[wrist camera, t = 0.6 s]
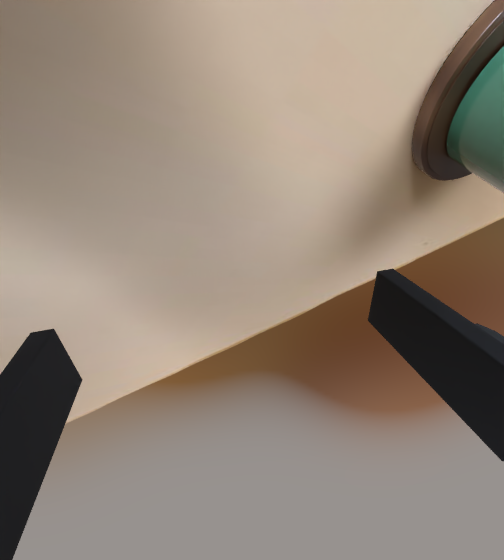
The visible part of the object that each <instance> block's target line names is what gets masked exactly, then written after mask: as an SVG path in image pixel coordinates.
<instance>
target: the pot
mask: <svg viewBox="0 0 504 560" xmlns="http://www.w3.org/2000/svg"><path fill="white" fill-rule="evenodd" d="M447 152H448V154H449V156H450V158H451V159H452V160H453V161H455V162H456V163H458V164H459V165H461V166H462V167H464V168H465V169H467V170H468V171H470V172H471V173H473V174H475V175H476V176H478V177H479V178H481V179H482V180H484V181H485V182H487V183H488V184H490V185H491V186H493V187H494V188H496V189H497V190H499V191H501V192H502V193H504V46H503V47H502V48H501V49H500V50H499V51H498V52H497V54H496V55H495V56H494V57H493V58H492V59H491V60H490V61H489V63H488V64H487V65H486V66H485V68H484V69H483V70H482V71H481V73H480V74H479V75H478V77H477V78H476V80H475V81H474V82H473V84H472V85H471V87H470V88H469V90H468V91H467V93H466V94H465V96H464V98H463V100H462V101H461V103H460V105H459V107H458V109H457V111H456V113H455V115H454V117H453V120H452V123H451V125H450V128H449V132H448V137H447Z"/></svg>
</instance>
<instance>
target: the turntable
mask: <svg viewBox="0 0 504 560" xmlns="http://www.w3.org/2000/svg"><path fill="white" fill-rule="evenodd" d="M503 46H504V0H495V1H494V2H493V3H492V4H491V5H490V6H489V7H488V8H487V9H486V10H485V11H484V12H483V14H482V15H481V16H480V17H479V18H478V19H477V20H476V21H475V23H474V24H473V25H472V26H471V27H470V28H469V30H468V31H467V32H466V34H465V35H464V36H463V37H462V39H461V40H460V41H459V43H458V44H457V45H456V47H455V48H454V50H453V51H452V52H451V54H450V55H449V57H448V58H447V60H446V61H445V63H444V64H443V66H442V68H441V69H440V71H439V73H438V74H437V76H436V78H435V79H434V81H433V83H432V85H431V87H430V89H429V91H428V93H427V95H426V97H425V99H424V102H423V104H422V106H421V109H420V112H419V115H418V117H417V120H416V124H415V128H414V132H413V140H412V153H413V158H414V161H415V163H416V165H417V166H418V167H419V169H420V170H422V171H423V172H424V173H426V174H427V175H428V176H430V177H431V178H433V179H437V180H453V179H458V178H461V177H464V176H467V175H469V174H472V173H471V172H470V171H468V170H467V169H465V168H464V167H462V166H461V165H459V164H458V163H456V162H455V161H453V160H452V159H451V158H450V156H449V154H448V152H447V137H448V132H449V128H450V125H451V123H452V120H453V117H454V115H455V113H456V111H457V109H458V107H459V105H460V103H461V101H462V100H463V98H464V96H465V94H466V93H467V91H468V90H469V88H470V87H471V85H472V84H473V82H474V81H475V80H476V78H477V77H478V75H479V74H480V73H481V71H482V70H483V69H484V68H485V66H486V65H487V64H488V63H489V61H490V60H491V59H492V58H493V57H494V56H495V55H496V54H497V52H498V51H499V50H500V49H501V48H502V47H503Z"/></svg>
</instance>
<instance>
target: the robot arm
mask: <svg viewBox="0 0 504 560" xmlns="http://www.w3.org/2000/svg"><path fill="white" fill-rule="evenodd" d="M368 321H369V322H370V323H371V324H372V325H373V326H374V327H375V328H376V329H377V331H378V332H379V333H380V334H381V335H382V336H383V337H384V338H385V339H386V340H387V341H388V342H389V343H390V344H391V345H392V346H393V347H394V348H395V349H396V351H397V352H398V353H399V354H400V355H401V356H402V357H403V358H404V359H405V360H406V361H407V362H408V363H409V364H410V365H411V366H412V367H413V368H414V369H415V370H416V371H417V372H418V374H419V375H420V376H421V377H422V378H423V379H424V380H425V381H426V382H427V383H428V384H429V385H430V386H431V387H432V388H433V389H434V390H435V391H436V392H437V393H438V395H440V396H441V398H442V399H443V400H444V401H445V402H446V403H447V404H448V405H449V406H450V407H451V408H452V409H453V410H454V411H455V412H456V413H457V414H458V415H459V416H460V417H461V419H462V420H463V421H464V422H465V423H466V424H467V425H468V426H469V427H470V428H471V429H472V430H473V431H474V432H475V433H476V434H477V435H478V436H479V437H480V439H482V441H483V442H484V443H485V444H486V445H487V446H488V447H489V448H490V449H491V450H492V451H493V452H494V453H495V454H496V455H497V456H498V457H499V458H500V459H501V461H504V337H503V336H502V335H500V334H499V333H497V332H496V331H494V330H491V329H489V328H487V327H484V326H482V325H479V324H473V323H472V322H470V321H469V320H467V319H466V318H465V317H463V316H462V315H460V314H459V313H457V312H456V311H454V310H453V309H451V308H450V307H448V306H447V305H445V304H444V303H442V302H441V301H440V300H438V299H437V298H435V297H434V296H432V295H431V294H429V293H428V292H426V291H425V290H423V289H422V288H420V287H419V286H417V285H416V284H415V283H413V282H412V281H410V280H408V279H407V278H406V277H404V276H403V275H401V274H400V273H398V272H397V271H395V270H394V269H389V270H383V271H377V276H376V281H375V287H374V291H373V297H372V302H371V307H370V312H369V318H368ZM81 382H82V378H81V377H80V375H79V373H78V371H77V369H76V368H75V366H74V364H73V362H72V360H71V359H70V357H69V355H68V353H67V351H66V350H65V348H64V346H63V344H62V343H61V341H60V339H59V337H58V335H57V334H56V332H55V330H54V329H50V330H44V331H38V332H33V333H30V335H29V336H28V337H27V339H26V340H25V341H24V343H23V344H22V346H21V347H20V348H19V350H18V351H17V352H16V354H15V355H14V357H13V358H12V359H11V361H10V362H9V363H8V365H7V366H6V368H5V369H4V370H3V372H2V373H1V374H0V560H12V559H13V556H14V554H15V551H16V548H17V546H18V543H19V541H20V538H21V536H22V533H23V531H24V528H25V525H26V523H27V520H28V517H29V515H30V512H31V510H32V507H33V505H34V502H35V500H36V497H37V495H38V492H39V489H40V487H41V484H42V482H43V479H44V477H45V474H46V471H47V469H48V466H49V464H50V461H51V459H52V456H53V453H54V451H55V448H56V446H57V443H58V441H59V438H60V435H61V433H62V430H63V428H64V425H65V423H66V420H67V418H68V415H69V413H70V410H71V407H72V405H73V402H74V400H75V397H76V395H77V392H78V389H79V387H80V384H81Z"/></svg>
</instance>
